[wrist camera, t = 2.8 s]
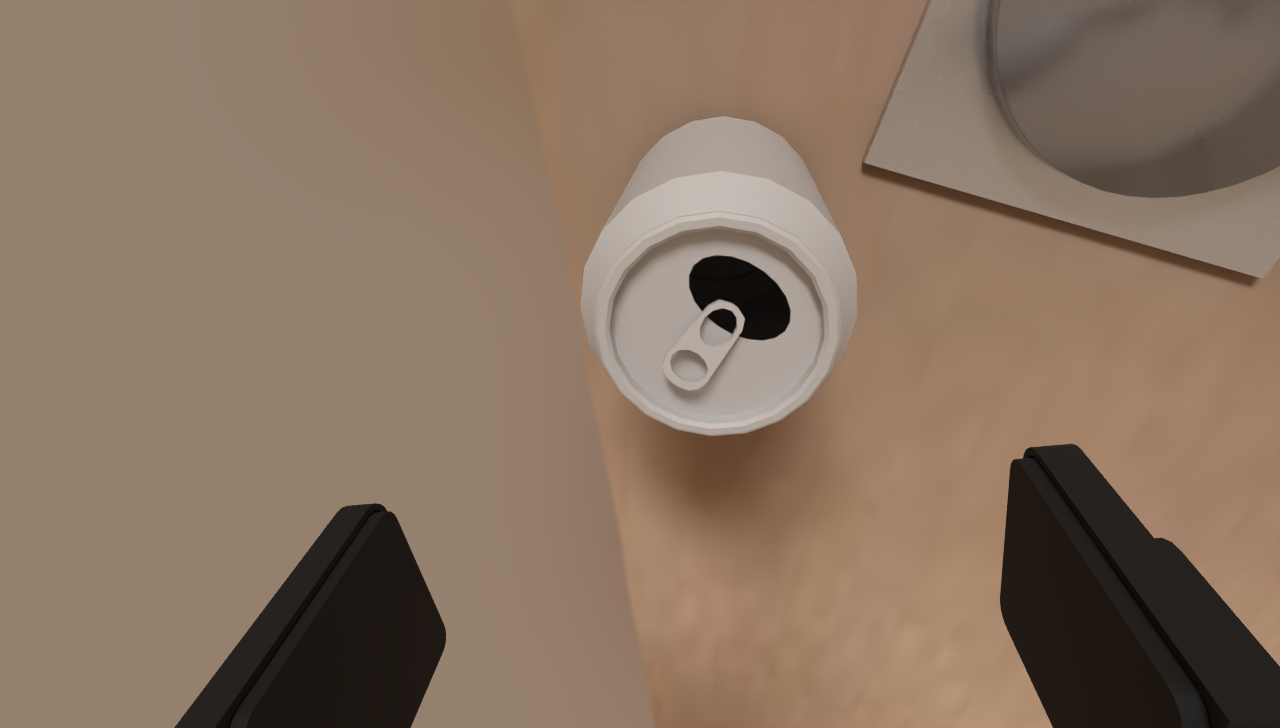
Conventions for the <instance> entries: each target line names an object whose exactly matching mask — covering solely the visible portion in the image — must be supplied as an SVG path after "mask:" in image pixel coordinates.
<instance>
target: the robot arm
mask: <svg viewBox="0 0 1280 728" xmlns="http://www.w3.org/2000/svg"><path fill="white" fill-rule="evenodd" d="M1000 605H1001V611H1002V616H1003V619H1004V622H1005V625H1006V627H1007V630H1008V632H1009V634H1010V636H1011V638H1012V640H1013V642H1014V645H1015V647H1016V649H1017V651H1018V653H1019V655H1020V657H1021V660H1022V662H1023V664H1024V666H1025V668H1026V670H1027V673H1028V675H1029V677H1030V679H1031V681H1032V683H1033V685H1034V688H1035V690H1036V692H1037V694H1038V696H1039V698H1040V700H1041V703H1042V705H1043V707H1044V709H1045V711H1046V713H1047V716H1048V718H1049V720H1050V722H1051V724H1052V726H1053V728H1280V666H1279V665H1278V664H1277V663H1276V662H1275V661H1274V659H1273V658H1272V657H1271V656H1270V655H1269V654H1268V652H1267V651H1266V650H1265V649H1264V648H1263V646H1262V645H1261V644H1260V643H1259V642H1258V641H1257V639H1256V638H1255V637H1254V636H1253V635H1252V634H1251V632H1250V631H1249V630H1248V629H1247V628H1246V627H1245V625H1244V624H1243V623H1242V622H1241V621H1240V619H1239V618H1238V617H1237V616H1236V615H1235V614H1234V612H1233V611H1232V610H1231V609H1230V608H1229V607H1228V605H1227V604H1226V603H1225V602H1224V601H1223V600H1222V598H1221V597H1220V596H1219V595H1218V594H1217V592H1216V591H1215V590H1214V589H1213V588H1212V587H1211V585H1210V584H1209V583H1208V582H1207V581H1206V580H1205V578H1204V577H1203V576H1202V575H1201V574H1200V573H1199V571H1198V570H1197V569H1196V568H1195V567H1194V565H1193V564H1192V563H1191V562H1190V561H1189V560H1188V558H1187V557H1186V556H1185V555H1184V554H1183V553H1182V551H1180V550H1179V549H1178V548H1177V547H1176V546H1175V545H1174V544H1173V543H1172V542H1170V541H1168V540H1166V539H1163V538H1153V536H1152V535H1151V534H1150V533H1149V531H1148V530H1147V529H1146V528H1145V527H1144V525H1143V524H1142V523H1141V522H1140V520H1139V519H1138V518H1137V517H1136V516H1135V514H1134V513H1133V512H1132V511H1131V510H1130V508H1129V507H1128V506H1127V505H1126V503H1125V502H1124V501H1123V500H1122V499H1121V497H1120V496H1119V495H1118V494H1117V492H1116V491H1115V490H1114V489H1113V488H1112V486H1111V485H1110V484H1109V483H1108V482H1107V480H1106V479H1105V478H1104V477H1103V475H1102V474H1101V473H1100V472H1099V471H1098V469H1097V468H1096V467H1095V466H1094V464H1093V463H1092V462H1091V461H1090V460H1089V458H1088V457H1087V456H1086V455H1085V454H1084V452H1083V451H1082V450H1081V449H1080V448H1079V447H1078V446H1077V445H1074V444H1065V445H1053V446H1042V447H1030V448H1028V449H1026V451H1025V453H1024V457H1023V459H1015V460H1013V461H1012V463H1011V467H1010V478H1009V491H1008V503H1007V516H1006V529H1005V542H1004V554H1003V567H1002V580H1001V593H1000ZM445 642H446V630H445V626H444V624H443V621H442V619H441V617H440V614H439V612H438V610H437V608H436V605H435V603H434V601H433V599H432V596H431V594H430V592H429V590H428V587H427V585H426V583H425V581H424V579H423V576H422V574H421V572H420V569H419V567H418V565H417V563H416V560H415V558H414V556H413V554H412V551H411V549H410V547H409V545H408V542H407V540H406V538H405V536H404V533H403V531H402V529H401V526H400V524H399V522H398V520H397V518H396V516H395V515H394V514H393V513H392V512H387V510H386V509H385V507H384V506H382V505H381V504H364V505H352V506H346V507H343V508H341V509H340V510H339V511H338V512H337V513H336V515H335V516H334V517H333V519H332V520H331V521H330V523H329V524H328V525H327V526H326V528H325V529H324V531H323V532H322V533H321V535H320V536H319V537H318V539H317V540H316V541H315V542H314V544H313V545H312V546H311V548H310V549H309V550H308V552H307V553H306V554H305V556H304V557H303V558H302V560H301V561H300V562H299V564H298V565H297V566H296V568H295V569H294V570H293V572H292V573H291V574H290V575H289V577H288V578H287V580H286V581H285V582H284V584H283V585H282V586H281V588H280V589H279V590H278V591H277V593H276V594H275V595H274V597H273V598H272V599H271V601H270V602H269V603H268V605H267V606H266V607H265V609H264V610H263V611H262V613H261V614H260V615H259V617H258V618H257V619H256V620H255V622H254V623H253V624H252V626H251V627H250V628H249V630H248V631H247V633H246V634H245V635H244V636H243V638H242V639H241V640H240V642H239V643H238V644H237V646H236V647H235V648H234V650H233V651H232V652H231V654H230V655H229V656H228V658H227V659H226V660H225V661H224V663H223V664H222V665H221V667H220V668H219V670H218V671H217V672H216V674H215V675H214V676H213V677H212V679H211V680H210V681H209V683H208V684H207V685H206V687H205V688H204V690H203V691H202V692H201V693H200V695H199V696H198V697H197V699H196V700H195V701H194V702H193V704H192V705H191V706H190V708H189V709H188V710H187V712H186V713H185V714H184V716H183V717H182V718H181V720H180V721H179V722H178V724H177V725H176V726H175V728H411V725H412V723H413V721H414V718H415V716H416V714H417V711H418V709H419V707H420V704H421V702H422V699H423V697H424V695H425V692H426V690H427V688H428V686H429V683H430V681H431V679H432V676H433V674H434V672H435V669H436V667H437V665H438V662H439V660H440V658H441V655H442V653H443V650H444V647H445Z"/></svg>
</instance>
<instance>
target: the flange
mask: <svg viewBox="0 0 1280 728" xmlns="http://www.w3.org/2000/svg"><path fill="white" fill-rule="evenodd" d="M862 161H863V162H864V163H866V164H869V165H873V166H876V167H880V168H883V169H887V170H890V171H893V172H897V173H900V174H904V175H907V176H911V177H914V178H918V179H921V180H924V181H928V182H931V183H935V184H938V185H942V186H945V187H948V188H952V189H955V190H959V191H962V192H966V193H969V194H973V195H976V196H979V197H983V198H986V199H990V200H993V201H997V202H1000V203H1004V204H1007V205H1010V206H1014V207H1017V208H1021V209H1024V210H1028V211H1031V212H1034V213H1038V214H1041V215H1045V216H1048V217H1052V218H1055V219H1059V220H1062V221H1065V222H1069V223H1072V224H1076V225H1079V226H1083V227H1086V228H1090V229H1093V230H1096V231H1100V232H1103V233H1107V234H1110V235H1114V236H1117V237H1120V238H1124V239H1127V240H1131V241H1134V242H1138V243H1141V244H1145V245H1148V246H1151V247H1155V248H1158V249H1162V250H1165V251H1169V252H1172V253H1175V254H1179V255H1182V256H1186V257H1189V258H1193V259H1196V260H1200V261H1203V262H1206V263H1210V264H1213V265H1217V266H1220V267H1224V268H1227V269H1231V270H1234V271H1237V272H1241V273H1244V274H1248V275H1251V276H1255V277H1258V278H1261V279H1263V278H1264V277H1265V276H1266V275H1267V273H1268V272H1269V271H1270V269H1271V268H1272V267H1273V265H1274V264H1275V263H1276V262H1277V260H1278V259H1279V258H1280V0H928V3H927V5H926V8H925V10H924V13H923V15H922V17H921V20H920V22H919V25H918V27H917V30H916V32H915V34H914V37H913V39H912V42H911V44H910V46H909V49H908V51H907V54H906V56H905V59H904V61H903V63H902V66H901V68H900V71H899V73H898V76H897V78H896V80H895V83H894V85H893V88H892V90H891V93H890V95H889V97H888V100H887V102H886V105H885V107H884V109H883V112H882V114H881V117H880V119H879V122H878V124H877V126H876V129H875V131H874V134H873V136H872V139H871V141H870V143H869V146H868V148H867V151H866V153H865V156H864V158H863V160H862Z"/></svg>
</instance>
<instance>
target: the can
mask: <svg viewBox="0 0 1280 728" xmlns="http://www.w3.org/2000/svg"><path fill="white" fill-rule="evenodd" d="M580 308H581V312H582V317H583V321H584V326H585V330H586V334H587V339H588V343H589V346H590V347H591V349H592V351H593V352H594V354H595V356H596V357H597V359H598V361H599V362H600V364H601V366H602V367H603V369H604V370H605V372H606V374H607V375H608V377H609V378H610V379H611V380H612V382H613V384H614V385H615V387H616V389H617V390H618V392H619V393H620V394H621V395H622V396H624V397H625V398H626V399H627V400H628V401H629V402H630V403H631V404H633V405H634V406H635V407H636V408H637V409H638V410H639V411H640V412H642V413H643V414H644V415H646V416H648V417H650V418H652V419H654V420H656V421H658V422H660V423H662V424H664V425H666V426H669V427H671V428H673V429H675V430H679V431H684V432H689V433H695V434H700V435H706V436H722V435H735V434H747V433H749V432H752V431H755V430H758V429H761V428H763V427H766V426H769V425H772V424H774V423H777V422H780V421H782V420H783V419H784V418H786V417H787V416H789V415H790V414H791V413H793V412H794V411H795V410H797V409H798V408H800V407H801V406H802V405H804V404H805V403H807V402H808V401H809V400H810V399H811V398H812V396H813V395H814V394H815V392H816V391H817V390H818V388H819V387H820V386H821V385H822V384H823V383H824V381H825V380H826V379H827V377H828V376H829V375H830V373H831V372H832V371H833V369H834V368H835V367H836V365H837V364H838V363H839V361H840V360H841V359H842V357H843V356H844V355H845V352H846V349H847V346H848V343H849V340H850V337H851V334H852V331H853V328H854V325H855V322H856V319H857V281H856V272H855V270H854V267H853V265H852V262H851V260H850V257H849V255H848V252H847V250H846V248H845V245H844V243H843V240H842V238H841V235H840V233H839V231H838V229H837V227H836V225H835V223H834V221H833V219H832V217H831V215H830V213H829V211H828V209H827V207H826V205H825V203H824V201H823V199H822V197H821V195H820V193H819V191H818V189H817V187H816V185H815V183H814V181H813V179H812V177H811V175H810V173H809V171H808V169H807V167H806V165H805V163H804V161H803V159H802V158H801V157H800V156H799V155H798V154H797V153H796V152H795V150H794V149H793V148H792V147H791V146H790V145H789V144H788V143H787V141H786V140H785V139H784V138H783V137H782V136H780V135H778V134H777V133H775V132H773V131H771V130H769V129H767V128H766V127H764V126H762V125H760V124H758V123H756V122H755V121H749V120H743V119H737V118H731V117H725V116H721V117H715V118H709V119H703V120H697V121H691V122H690V123H688V124H686V125H684V126H682V127H680V128H678V129H676V130H674V131H673V132H671V133H669V134H667V135H665V136H663V137H662V138H661V139H660V140H659V142H658V143H657V144H656V145H655V146H654V147H653V148H652V149H651V150H650V151H649V152H648V153H647V154H646V155H645V156H644V157H643V158H642V160H641V161H640V163H639V165H638V167H637V169H636V170H635V172H634V174H633V176H632V178H631V179H630V181H629V183H628V185H627V187H626V188H625V190H624V192H623V194H622V196H621V197H620V199H619V201H618V203H617V205H616V206H615V208H614V210H613V212H612V214H611V215H610V217H609V219H608V221H607V223H606V224H605V226H604V228H603V230H602V232H601V234H600V236H599V238H598V240H597V242H596V244H595V247H594V249H593V251H592V253H591V255H590V257H589V259H588V261H587V263H586V265H585V268H584V277H583V286H582V295H581V305H580Z"/></svg>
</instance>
